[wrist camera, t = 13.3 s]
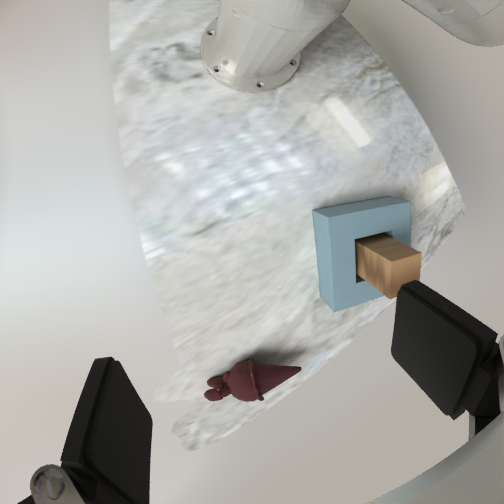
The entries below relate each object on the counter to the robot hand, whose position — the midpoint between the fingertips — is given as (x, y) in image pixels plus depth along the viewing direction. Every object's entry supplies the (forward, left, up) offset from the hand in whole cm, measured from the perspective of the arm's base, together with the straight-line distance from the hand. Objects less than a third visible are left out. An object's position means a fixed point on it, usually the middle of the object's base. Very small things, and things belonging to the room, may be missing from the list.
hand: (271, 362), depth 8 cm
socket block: (+9, +19, -28) cm, 35 cm away
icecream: (+25, 0, -29) cm, 38 cm away
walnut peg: (+9, +19, -28) cm, 35 cm away
